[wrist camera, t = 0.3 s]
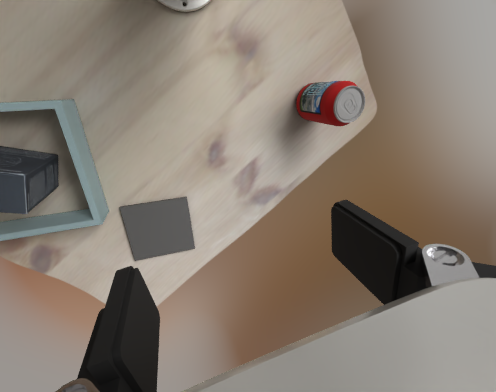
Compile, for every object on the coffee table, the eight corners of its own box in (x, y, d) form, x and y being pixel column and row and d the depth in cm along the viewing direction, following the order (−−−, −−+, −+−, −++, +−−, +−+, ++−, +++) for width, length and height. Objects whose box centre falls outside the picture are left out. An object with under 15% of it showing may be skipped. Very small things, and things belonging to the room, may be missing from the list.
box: (-1, 180, 37) (-58, 209, 28) (-5, 144, 35) (-66, 163, 26) (60, 187, 40) (26, 215, 31) (59, 154, 38) (24, 174, 29)
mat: (120, 206, 44) (119, 208, 44) (186, 196, 47) (186, 197, 46) (135, 258, 49) (135, 260, 48) (194, 246, 52) (194, 248, 51)
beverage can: (311, 74, 45) (355, 69, 34) (331, 101, 48) (376, 103, 38) (287, 103, 46) (322, 106, 35) (308, 127, 49) (346, 136, 38)
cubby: (-71, 106, 32) (-110, 108, 27) (74, 99, 36) (60, 100, 32) (-4, 228, 40) (-26, 245, 35) (109, 210, 44) (102, 224, 39)
